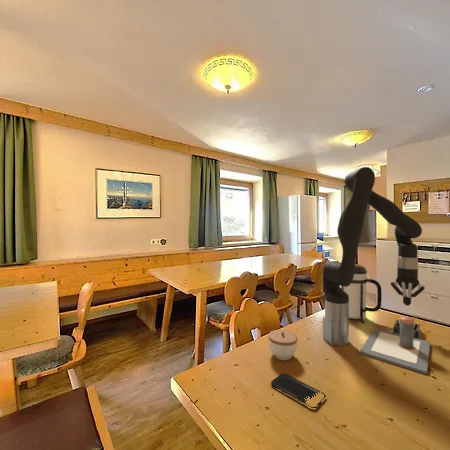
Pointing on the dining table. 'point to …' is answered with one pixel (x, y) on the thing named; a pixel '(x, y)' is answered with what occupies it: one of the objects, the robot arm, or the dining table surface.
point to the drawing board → (397, 350)
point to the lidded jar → (283, 344)
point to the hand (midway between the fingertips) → (407, 304)
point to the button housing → (416, 331)
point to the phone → (295, 388)
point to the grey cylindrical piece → (406, 332)
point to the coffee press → (360, 294)
